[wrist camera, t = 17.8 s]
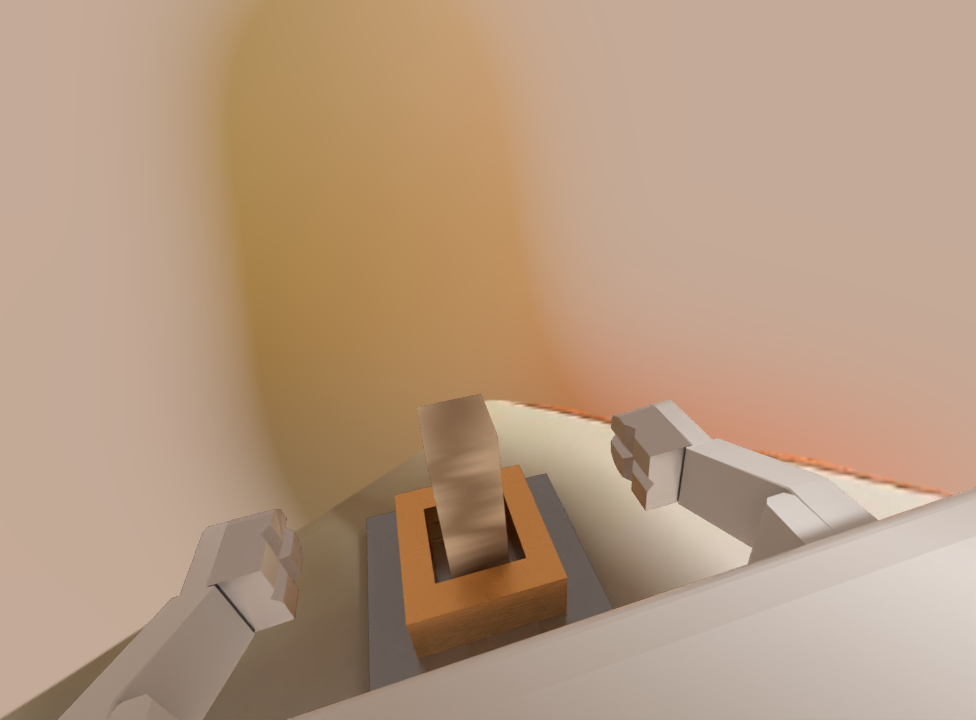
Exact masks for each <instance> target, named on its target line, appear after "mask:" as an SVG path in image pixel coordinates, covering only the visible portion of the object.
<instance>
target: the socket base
mask: <svg viewBox="0 0 976 720" xmlns="http://www.w3.org/2000/svg"><path fill="white" fill-rule="evenodd" d="M501 478H502V488H503V499H504V509H505V520H506V530H507V540H508V551H509V561H510V563H507V564H504V565H500V566H496V567H493V568H489V569H486V570H482V571H479V572H475V573H472V574H468V575H465V576H461V577H458V578H454V579H452V576H451V572H450V567H449V562H448V558H447V553H446V549H445V544H444V540H443V535H442V530H441V526H440V521H439V517H438V512H437V507H436V503H435V498H434V494H433V489H432V486H431V487H426V488H422V489H418V490H414V491H410V492H406V493H402V494H398V495H395V505H396V511H395V512H391V513H387V514H383V515H379V516H375V517H371V518H367V565H368V620H369V676H370V691H373V690H376V689H379V688H382V687H385V686H388V685H391V684H394V683H397V682H400V681H402V680H405V679H408V678H411V677H414V676H417V675H420V674H423V673H426V672H429V671H432V670H435V669H438V668H441V667H444V666H447V665H450V664H453V663H456V662H459V661H462V660H465V659H468V658H471V657H474V656H477V655H480V654H483V653H486V652H488V651H491V650H494V649H497V648H500V647H503V646H506V645H509V644H512V643H515V642H518V641H521V640H524V639H527V638H530V637H533V636H536V635H539V634H542V633H545V632H548V631H551V630H554V629H557V628H560V627H563V626H566V625H569V624H572V623H575V622H578V621H581V620H584V619H586V618H589V617H592V616H595V615H598V614H601V613H604V612H607V611H610V610H613V608H612V606H611V604H610V602H609V600H608V598H607V596H606V594H605V592H604V590H603V588H602V586H601V584H600V581H599V579H598V577H597V575H596V573H595V571H594V569H593V567H592V565H591V563H590V561H589V559H588V557H587V555H586V553H585V551H584V549H583V547H582V545H581V543H580V541H579V539H578V537H577V535H576V533H575V531H574V529H573V526H572V524H571V522H570V520H569V518H568V516H567V514H566V512H565V510H564V508H563V506H562V504H561V502H560V500H559V498H558V496H557V494H556V492H555V490H554V488H553V486H552V484H551V482H550V480H549V478H548V476H547V474H546V473H545V474H541V475H537V476H533V477H529V478H525V477H524V475H523V473H522V470H521V468H520V466H519V465H516V466H512V467H508V468H504V469H501Z"/></svg>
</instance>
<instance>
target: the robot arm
mask: <svg viewBox="0 0 976 720" xmlns="http://www.w3.org/2000/svg"><path fill="white" fill-rule="evenodd" d="M611 429H612V430H613V431H614V433H615V436H614V437H613V439H612V440H611V453H612V457H613V460H614V463H615V465H616V467H617V469H618V471H619V472H620V474H621V475H622V477H624V478H626V479H628V480H630V481H632V489H631V490H632V492H633V493H634V495H635V496H636V497H637V499H638V500H639V502H640V503H641V505H642V506H643V508H644V509H645V511H647V510H650V509H654V508H658V507H661V506H665V505H668V504H672V503H676V502H678V504H680V505H681V506H683V507H685V508H687V509H688V510H690V511H692V512H693V513H695V514H697V515H698V516H700V517H702V518H703V519H705V520H707V521H708V522H710V523H712V524H713V525H715V526H717V527H718V528H720V529H722V530H723V531H725V532H727V533H728V534H730V535H732V536H733V537H735V538H737V539H738V540H740V541H742V542H743V543H745V544H747V545H748V546H750V547H752V550H751V554H750V557H749V561H748V564H747V565H744V566H741V567H738V568H735V569H732V570H729V571H726V572H723V573H720V574H717V575H714V576H711V577H708V578H705V579H702V580H699V581H697V582H694V583H691V584H688V585H685V586H682V587H679V588H676V589H673V590H670V591H667V592H664V593H661V594H658V595H655V596H652V597H649V598H646V599H643V600H640V601H637V602H634V603H631V604H628V605H625V606H622V607H619V608H616V609H613V610H610V611H607V612H604V613H601V614H598V615H595V616H592V617H589V618H586V619H584V620H581V621H578V622H575V623H572V624H569V625H566V626H563V627H560V628H557V629H554V630H551V631H548V632H545V633H542V634H539V635H536V636H533V637H530V638H527V639H524V640H521V641H518V642H515V643H512V644H509V645H506V646H503V647H500V648H497V649H494V650H491V651H488V652H486V653H483V654H480V655H477V656H474V657H471V658H468V659H465V660H462V661H459V662H456V663H453V664H450V665H447V666H444V667H441V668H438V669H435V670H432V671H429V672H426V673H423V674H420V675H417V676H414V677H411V678H408V679H405V680H402V681H400V682H397V683H394V684H391V685H388V686H385V687H382V688H379V689H376V690H373V691H370V692H367V693H364V694H361V695H358V696H355V697H352V698H349V699H346V700H343V701H340V702H337V703H334V704H331V705H328V706H325V707H322V708H319V709H316V710H313V711H310V712H307V713H304V714H301V715H298V716H295V717H292V718H289V719H286V720H976V488H973V489H970V490H967V491H964V492H961V493H958V494H955V495H952V496H949V497H946V498H943V499H940V500H937V501H934V502H931V503H928V504H925V505H923V506H920V507H917V508H914V509H911V510H908V511H905V512H902V513H899V514H896V515H893V516H890V517H887V518H884V519H881V520H877V519H876V518H875V517H873V516H872V515H871V514H870V513H869V512H867V511H866V510H865V509H864V508H863V507H861V506H860V505H859V504H858V503H857V502H855V501H854V500H853V499H852V498H851V497H849V496H848V495H847V494H846V493H845V492H843V491H842V490H841V489H840V488H839V487H837V486H836V485H835V484H834V483H833V482H831V481H830V480H829V479H828V478H826V477H823V476H821V475H818V474H815V473H812V472H810V471H807V470H804V469H801V468H798V467H796V466H793V465H790V464H787V463H785V462H782V461H779V460H776V459H774V458H771V457H768V456H765V455H762V454H760V453H757V452H754V451H751V450H749V449H746V448H743V447H740V446H738V445H734V444H732V443H729V442H726V441H724V440H721V439H718V438H717V439H714V440H712V439H711V438H710V437H709V436H708V435H707V434H706V433H705V432H704V431H703V430H702V429H701V428H700V427H698V425H697V424H696V423H695V422H693V421H692V420H691V419H690V418H689V417H688V416H687V415H686V414H685V413H684V412H683V411H682V410H681V409H680V408H679V407H678V406H677V405H676V404H675V403H674V402H673V401H670V400H666V401H663V402H659V403H656V404H652V405H650V406H645V407H642V408H638V409H635V410H631V411H628V412H625V413H621V414H618V415H614V416H613V417H612V420H611ZM286 521H287V518H286V517H285V515H284V514H283V512H282V510H281V509H274V510H270V511H267V512H262V513H258V514H254V515H250V516H246V517H242V518H238V519H235V520H231V521H229V522H225V523H220V524H216V525H212V526H208V527H207V529H206V530H205V531H204V532H203V533H202V536H201V539H200V541H199V544H198V547H197V549H196V552H195V555H194V558H193V560H192V563H191V566H190V568H189V571H188V574H187V577H186V579H185V582H184V585H183V587H182V590H181V593H180V596H177V597H174V598H172V599H171V600H170V601H169V602H168V603H167V604H166V605H165V606H164V607H163V608H162V609H161V610H160V611H159V613H157V615H156V616H155V617H154V618H153V619H152V620H151V621H150V622H149V623H148V624H147V625H146V626H145V627H144V628H143V629H142V630H141V631H140V633H139V634H138V635H137V636H136V637H135V638H134V639H133V640H132V641H131V642H130V643H129V644H128V645H127V646H126V647H125V648H124V650H123V651H122V652H121V653H120V654H119V655H118V656H117V657H116V658H115V659H114V660H113V661H112V662H111V663H110V664H109V666H108V667H107V668H106V669H105V670H104V671H103V672H102V673H101V674H100V675H99V676H98V677H97V678H96V679H95V680H94V681H93V683H92V684H91V685H90V686H89V687H88V688H87V689H86V690H85V691H84V692H83V693H82V694H81V695H80V696H79V697H78V698H77V700H76V701H75V702H74V703H73V704H72V705H71V706H70V707H69V708H68V709H67V710H66V711H65V712H64V713H63V714H62V715H61V717H60V718H59V719H58V720H203V719H204V717H205V716H206V714H207V713H208V711H209V709H210V708H211V706H212V704H213V703H214V701H215V700H216V698H217V696H218V695H219V693H220V691H221V690H222V688H223V687H224V685H225V683H226V682H227V680H228V678H229V677H230V675H231V674H232V672H233V670H234V669H235V667H236V665H237V664H238V662H239V661H240V659H241V657H242V656H243V654H244V652H245V651H246V649H247V648H248V646H249V644H250V643H251V641H252V639H253V638H254V636H255V632H258V631H261V630H264V629H267V628H270V627H273V626H276V625H279V624H282V623H285V622H288V621H290V620H293V619H295V614H296V607H297V599H298V592H299V590H298V588H297V587H296V585H295V584H294V581H295V579H296V578H297V577H298V575H299V574H300V572H301V567H302V552H301V545H300V542H299V539H298V537H297V535H296V533H295V532H294V531H293V530H291V529H288V528H286Z"/></svg>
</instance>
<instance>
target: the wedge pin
mask: <svg viewBox="0 0 976 720" xmlns="http://www.w3.org/2000/svg"><path fill="white" fill-rule="evenodd" d="M417 412H418V417H419V423H420V429H421V435H422V441H423V447H424V452H425V457H426V461H427V466H428V471H429V475H430V480H431V484H432V489H433V494H434V498H435V503H436V507H437V512H438V517H439V521H440V526H441V530H442V535H443V540H444V544H445V549H446V553H447V558H448V562H449V567H450V572H451V576H452V579H454V578H458V577H461V576H465V575H468V574H472V573H475V572H479V571H482V570H486V569H489V568H493V567H496V566H500V565H504V564H507V563H510V561H509V551H508V540H507V530H506V520H505V509H504V499H503V488H502V478H501V468H500V457H499V447H498V436H497V433H496V430H495V428H494V425H493V423H492V420H491V418H490V415H489V413H488V410H487V408H486V405H485V402H484V400H483V397H482V395H481V394H477V395H472V396H468V397H463V398H458V399H453V400H449V401H445V402H439V403H435V404H430V405H426V406H420V407H417Z"/></svg>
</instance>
